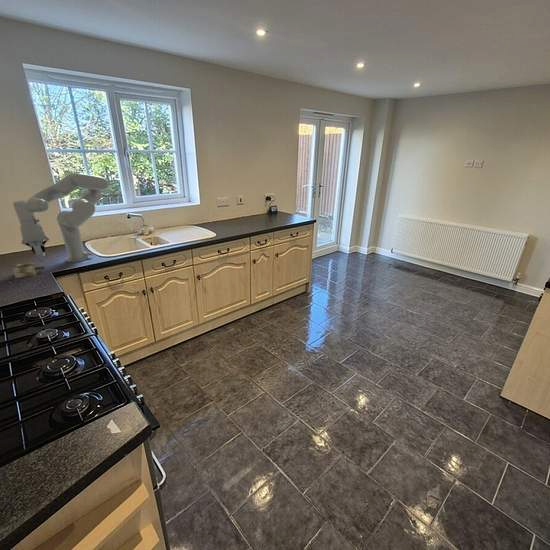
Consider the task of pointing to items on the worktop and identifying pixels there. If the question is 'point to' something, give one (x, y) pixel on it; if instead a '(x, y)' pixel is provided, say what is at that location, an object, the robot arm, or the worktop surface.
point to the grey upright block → (38, 249)
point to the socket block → (26, 269)
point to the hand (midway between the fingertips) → (39, 252)
